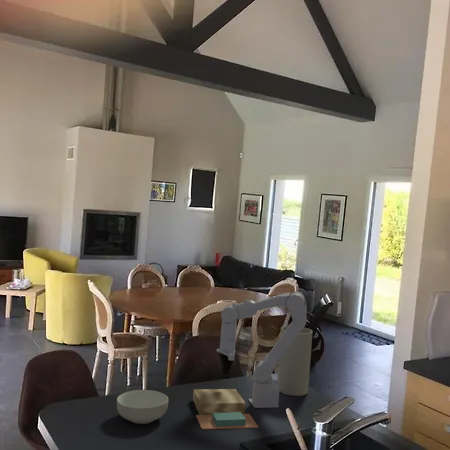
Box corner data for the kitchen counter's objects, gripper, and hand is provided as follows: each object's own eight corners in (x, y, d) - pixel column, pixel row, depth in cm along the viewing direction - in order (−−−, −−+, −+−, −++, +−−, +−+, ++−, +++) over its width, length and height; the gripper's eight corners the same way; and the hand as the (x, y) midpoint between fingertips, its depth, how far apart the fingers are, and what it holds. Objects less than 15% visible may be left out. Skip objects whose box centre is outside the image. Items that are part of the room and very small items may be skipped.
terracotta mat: (249, 414, 183) (249, 413, 183) (258, 427, 173) (258, 426, 173) (195, 415, 179) (195, 415, 179) (201, 429, 168) (201, 428, 168)
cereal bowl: (147, 405, 185) (148, 386, 185) (177, 421, 173) (178, 400, 173) (105, 416, 173) (107, 395, 173) (134, 434, 161) (136, 411, 161)
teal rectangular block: (246, 419, 173) (245, 425, 173) (240, 412, 179) (240, 417, 179) (216, 420, 171) (216, 426, 171) (212, 413, 177) (212, 418, 177)
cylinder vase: (290, 384, 220) (294, 325, 219) (314, 393, 211) (318, 331, 210) (270, 389, 211) (274, 327, 211) (294, 399, 202) (298, 334, 201)
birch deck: (234, 399, 197) (235, 389, 197) (244, 414, 184) (245, 402, 183) (192, 400, 193) (193, 389, 193) (199, 415, 180) (200, 403, 180)
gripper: (213, 333, 203) (211, 368, 203) (222, 343, 189) (219, 380, 189) (231, 333, 204) (228, 367, 205) (241, 343, 190) (238, 380, 191)
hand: (225, 374), depth 197 cm, fingers closed
